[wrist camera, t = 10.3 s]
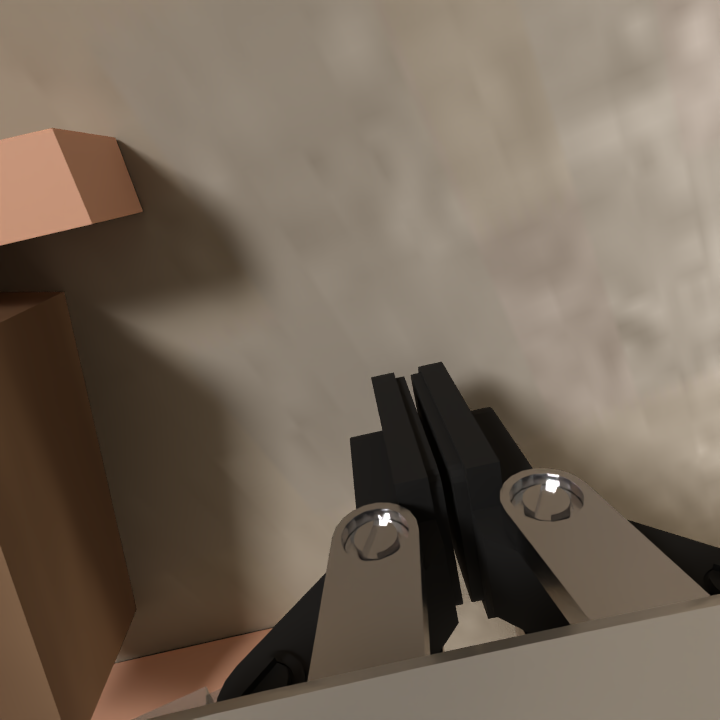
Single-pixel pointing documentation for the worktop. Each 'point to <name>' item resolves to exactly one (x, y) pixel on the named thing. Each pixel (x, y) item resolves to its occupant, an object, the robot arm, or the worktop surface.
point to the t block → (53, 523)
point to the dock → (63, 212)
